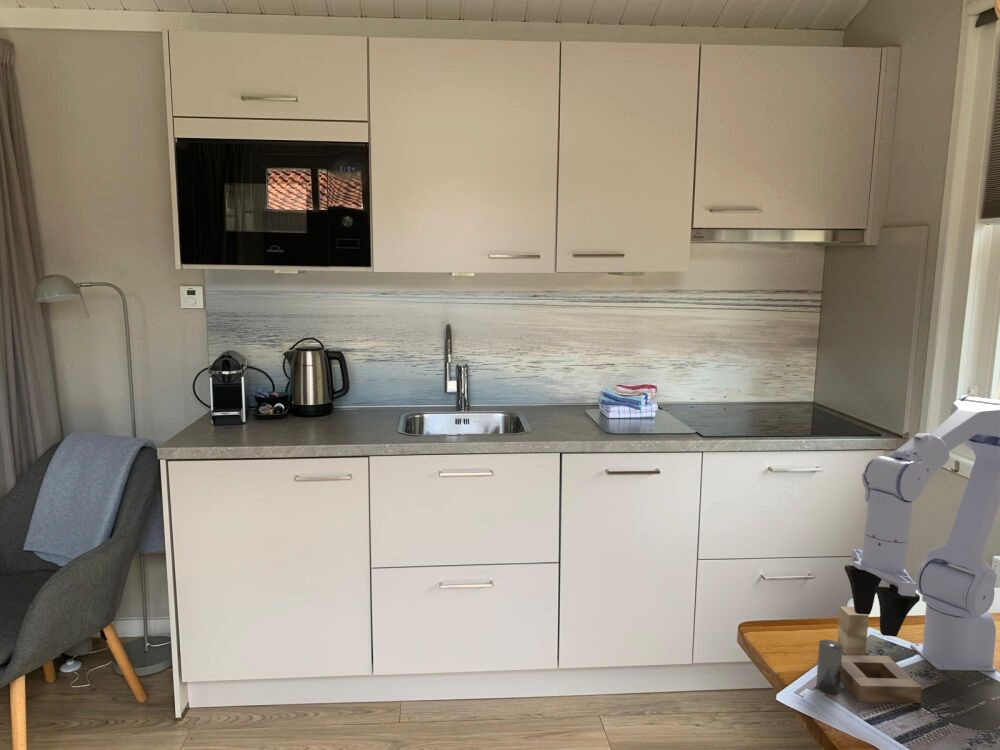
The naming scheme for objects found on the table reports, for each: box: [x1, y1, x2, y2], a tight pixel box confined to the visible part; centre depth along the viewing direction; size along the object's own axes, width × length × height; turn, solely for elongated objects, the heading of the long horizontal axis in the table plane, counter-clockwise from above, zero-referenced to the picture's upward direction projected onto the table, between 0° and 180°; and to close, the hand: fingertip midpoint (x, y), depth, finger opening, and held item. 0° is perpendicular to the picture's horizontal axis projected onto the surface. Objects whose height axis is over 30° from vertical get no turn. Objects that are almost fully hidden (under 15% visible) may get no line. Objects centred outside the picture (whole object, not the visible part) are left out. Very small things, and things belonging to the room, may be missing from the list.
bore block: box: [840, 654, 923, 704], centre depth 107 cm, size 9×9×2 cm
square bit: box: [837, 606, 870, 655], centre depth 118 cm, size 3×3×7 cm
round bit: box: [815, 639, 843, 695], centre depth 106 cm, size 3×3×7 cm
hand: (875, 623), depth 106 cm, fingers open, 7 cm apart
